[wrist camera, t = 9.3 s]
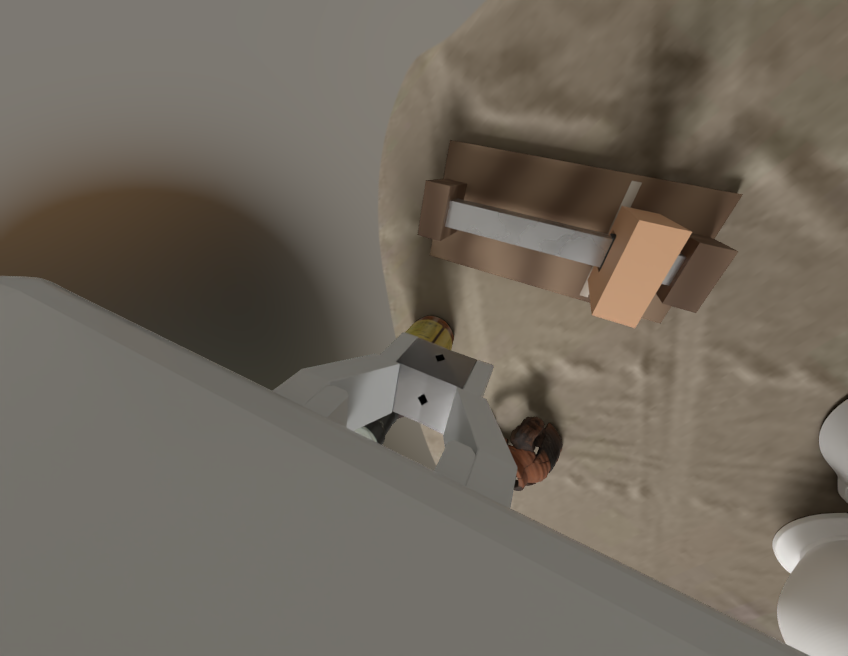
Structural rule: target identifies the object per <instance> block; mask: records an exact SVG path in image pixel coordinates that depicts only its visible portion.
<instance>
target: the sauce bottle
mask: <svg viewBox="0 0 848 656" xmlns="http://www.w3.org/2000/svg"><path fill="white" fill-rule="evenodd" d="M406 333H409V334H412V335H414V336H417V337H419V338H422V339H424V340H427V341H429V342H432V343H434V344H437V345H439V346H442V347H444V348H447V349H448V350H451V348H452V344H453V340H454V335H453V333H452V330H451V329H450V327H449V326H448V324H447V323H446V322H445V321H444V320H442V319H441V318H438V317H435V316H425V317H423V318H421V319H419V320H418V321H416V322H415V323H414V324H413V325H412V326H411V327H410V328H409V329H408V330H407V331H406ZM401 417H404V416H403V415H400V414H398V413H395V412H393V411H392V413H390V414H388V415H386V416H384V417H382V418H380V419H378V420H375V421H373V422H371V423H369V424H367V425H365V426H363V427H361V428H358V429H356V430H354V432H356V433H358V434H360V435H362V436H364V437H367V438H369V439H371V440H373V441H375V442H377V443H379V444H381V445H382V444H383V442H384V440H385V435H386V434H387V432H388V430H389V429H390V427H391V426H392V424H393V423H395V421H396V420H397V419H398V418H401Z"/></svg>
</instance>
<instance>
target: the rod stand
mask: <svg viewBox="0 0 848 656" xmlns="http://www.w3.org/2000/svg"><path fill="white" fill-rule="evenodd" d="M742 195H743V194H737V193H732V192H727V191H721V190H716V189H711V188H705V187H700V186H694V185H689V184H684V183H678V182H673V181H667V180H662V179H657V178H651V177H646V176H641V175H635V174H630V173H624V172H619V171H614V170H608V169H603V168H598V167H592V166H587V165H581V164H576V163H571V162H565V161H560V160H555V159H549V158H544V157H538V156H533V155H528V154H522V153H517V152H511V151H506V150H501V149H495V148H490V147H485V146H479V145H474V144H468V143H463V142H458V141H452V140H450V143H449V149H448V154H447V160H446V166H445V171H444V177H443V179H437V180H426V183H425V190H424V196H423V203H422V210H421V216H420V223H419V230H418V235H419V236H423V237H427V238H430V239H433V240H432V246H431V251H430V256H434V257H437V258H440V259H444V260H447V261H451V262H454V263H457V264H461V265H464V266H467V267H471V268H474V269H478V270H481V271H484V272H488V273H491V274H495V275H498V276H501V277H505V278H508V279H511V280H515V281H518V282H522V283H525V284H528V285H532V286H535V287H539V288H542V289H545V290H549V291H552V292H555V293H559V294H562V295H566V296H569V297H572V298H576V299H579V300H583V301H586V302H589V303H590V295H589V287H588V278H589V276H590V274H591V271H592V269H593V267H594V266H596V267H599V269H601V268H602V266H603V264H604V261H605V259H606V257H607V255H608V253H609V251H610V249H611V247H612V245H613V243H614V240H615V238H616V234H612V233H611V234H609V232H610V230H611V228H612V226H613V224H614V221H615V219H616V217H617V215H618V213H619V211H620V208H621V206H625V207H629V208H634V209H639V210H644V211H648V212H653V213H658V214H661V215H663V216H664V217H666V218H668V219H670V220H672V221H673V222H675V223H677V224H679V225H681V226H683V227H684V228H686V229H688V230H690V231H692V233H691V235H690V237H689V238H688V240H687V242H686V243H685V245H684V247H683V249H682V250H681V252H680V254H679V255H678V257H677V259H676V260H675V262H674V264H673V265H672V267H671V269H670V270H669V272H668V274H667V275H666V277H665V279H664V280H663V282H662V284H661V285H660V287H659V289H658V291H657V292H656V294H655V296H654V297H653V299H652V301H651V302H650V304H649V306H648V307H647V309H646V311H645V312H644V314H643V316H642V317H641V318H643V319H647V320H650V321H654V322H657V323H661V322H662V320H663V319H664V317H665V315H666V314H667V312H668V311H669V309H670V308H671V306H673V307H677V308H680V309H684V310H687V311H691V312H694V313H696V312H697V311H698V309H699V308H700V306H701V305H702V304H703V302H704V301H705V299H706V298H707V296H708V295H709V293H710V292H711V291H712V289H713V288H714V286H715V285H716V283H717V282H718V280H719V279H720V278H721V276H722V275H723V273H724V272H725V270H726V269H727V267H728V266H729V265H730V263H731V262H732V260H733V259H734V257H735V256H736V254H737V253H738V251H736V250H734V249H732V248H731V247H729V246H727V245H725V244H723V243H721V242H719V241H717V240H715V237H716V236H717V234H718V232H719V231H720V229H721V228H722V226H723V225H724V223H725V221H726V220H727V218H728V217H729V215H730V214H731V212H732V210H733V209H734V207H735V206H736V204H737V203H738V201H739V199H740V198H741V196H742Z"/></svg>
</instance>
